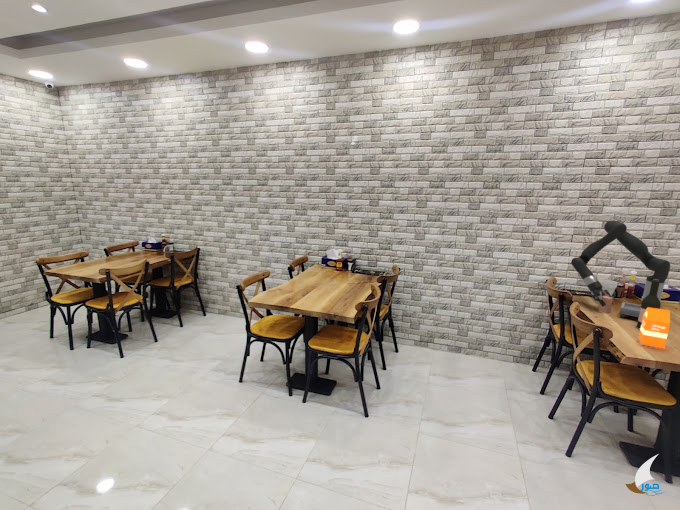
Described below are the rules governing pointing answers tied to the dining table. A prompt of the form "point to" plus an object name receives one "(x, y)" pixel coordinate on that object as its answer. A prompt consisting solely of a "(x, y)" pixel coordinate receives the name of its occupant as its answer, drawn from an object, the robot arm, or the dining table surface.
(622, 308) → the grey square tray
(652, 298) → the wine bottle
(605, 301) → the terracotta block
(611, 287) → the cup
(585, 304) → the dining table surface
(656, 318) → the orange juice
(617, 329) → the dining table surface
